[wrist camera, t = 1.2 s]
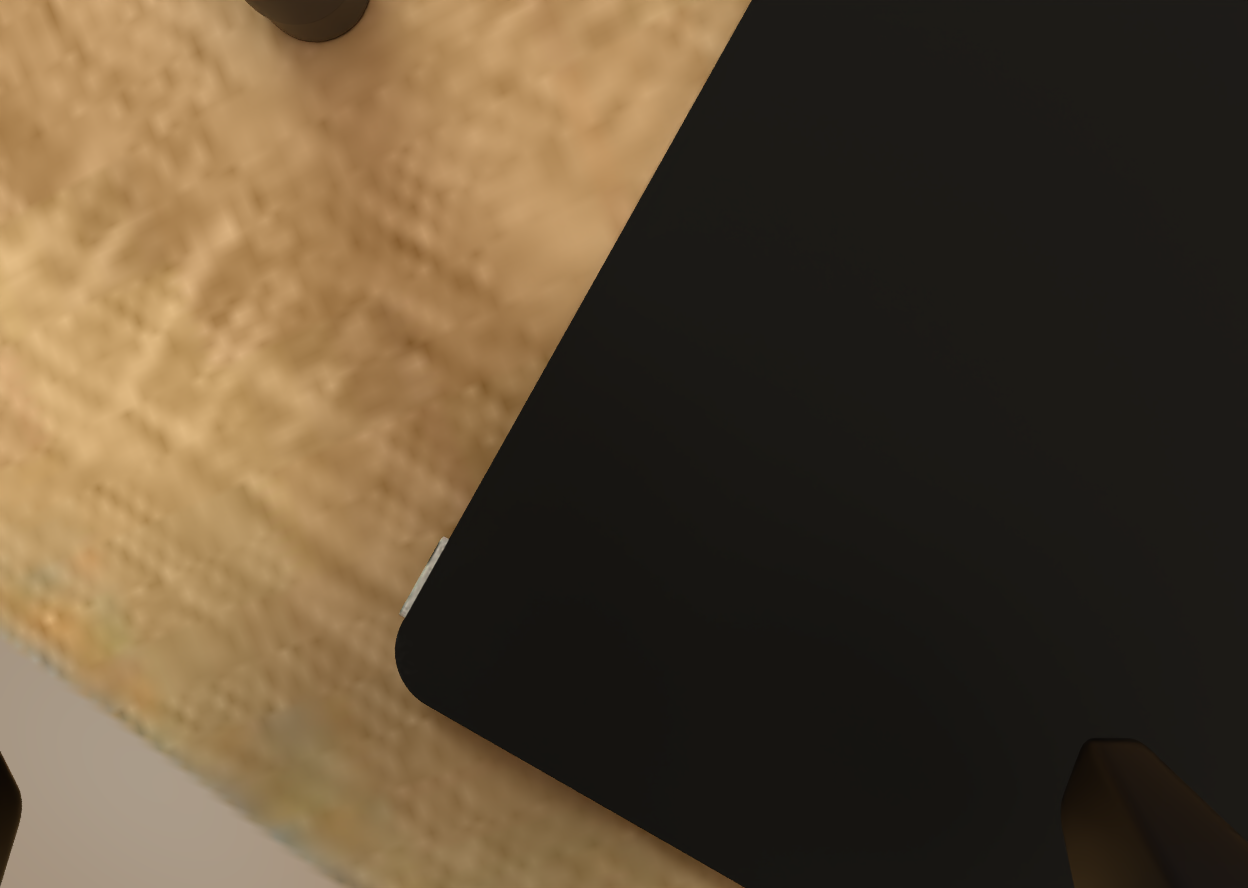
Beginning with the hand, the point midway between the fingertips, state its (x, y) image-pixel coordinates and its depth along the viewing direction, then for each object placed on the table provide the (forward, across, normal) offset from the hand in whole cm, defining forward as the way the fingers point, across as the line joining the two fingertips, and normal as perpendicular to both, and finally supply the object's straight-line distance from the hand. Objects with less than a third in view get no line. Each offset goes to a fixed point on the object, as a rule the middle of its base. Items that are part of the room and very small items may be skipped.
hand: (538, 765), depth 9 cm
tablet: (+11, -12, +8) cm, 18 cm away
